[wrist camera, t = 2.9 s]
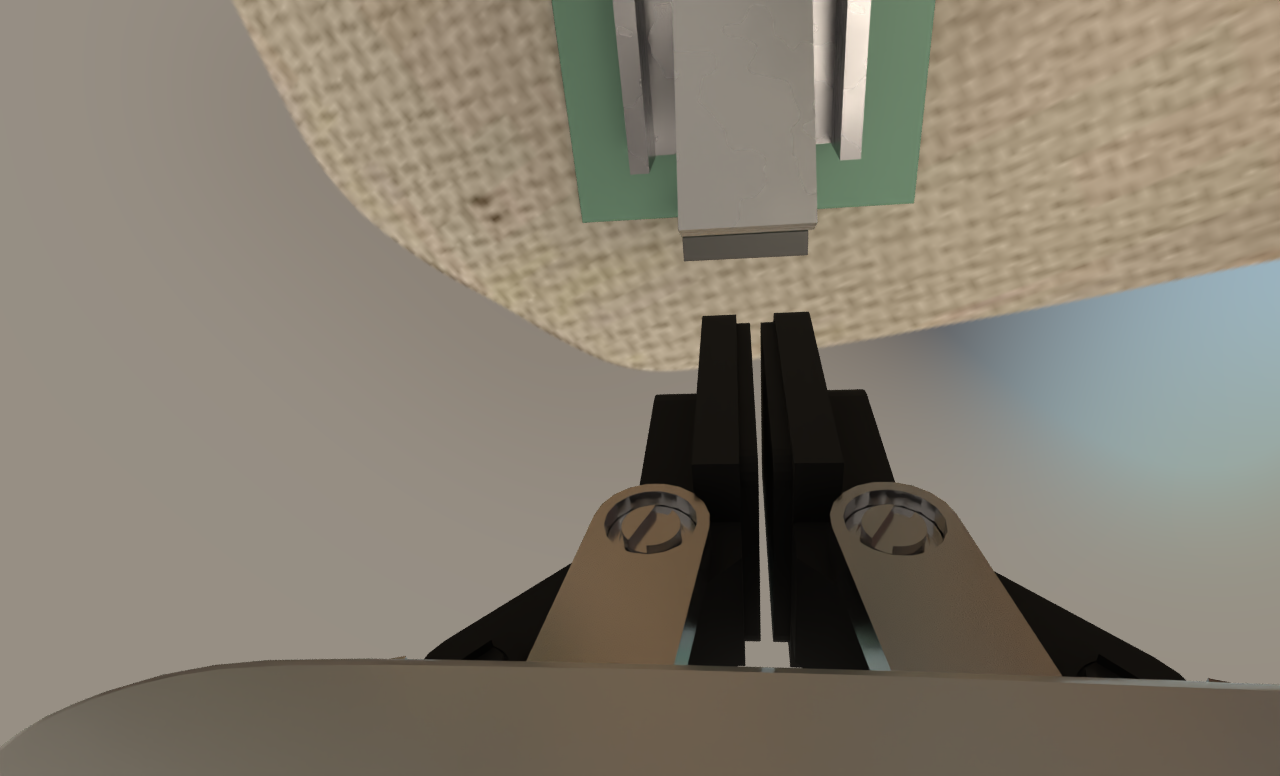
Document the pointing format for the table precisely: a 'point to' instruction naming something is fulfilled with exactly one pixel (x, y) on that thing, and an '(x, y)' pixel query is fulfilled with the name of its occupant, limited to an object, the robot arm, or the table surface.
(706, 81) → the clamp bar
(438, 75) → the table surface
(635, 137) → the heat sink board
